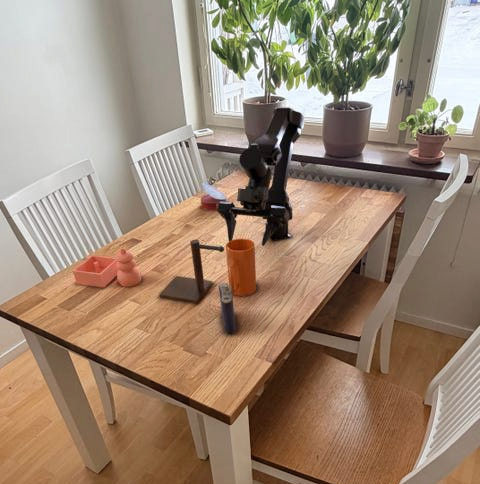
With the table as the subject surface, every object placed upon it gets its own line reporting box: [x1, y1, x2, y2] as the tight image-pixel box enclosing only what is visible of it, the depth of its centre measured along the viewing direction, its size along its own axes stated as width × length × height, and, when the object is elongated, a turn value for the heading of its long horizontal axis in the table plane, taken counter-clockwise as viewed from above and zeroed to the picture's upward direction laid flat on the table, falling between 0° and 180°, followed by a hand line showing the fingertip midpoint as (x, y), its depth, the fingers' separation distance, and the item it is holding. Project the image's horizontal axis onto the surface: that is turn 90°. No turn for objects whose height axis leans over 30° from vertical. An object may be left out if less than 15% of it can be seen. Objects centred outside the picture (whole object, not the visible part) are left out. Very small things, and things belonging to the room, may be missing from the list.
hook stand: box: [158, 239, 225, 304], centre depth 112 cm, size 10×18×15 cm, turn 70°
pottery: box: [72, 248, 142, 288], centre depth 122 cm, size 18×10×10 cm, turn 72°
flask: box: [218, 282, 237, 336], centre depth 101 cm, size 9×3×11 cm, turn 8°
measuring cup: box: [225, 238, 257, 297], centre depth 111 cm, size 11×7×13 cm, turn 160°
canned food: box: [200, 181, 228, 212], centre depth 164 cm, size 11×10×10 cm
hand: (246, 243), depth 113 cm, fingers open, 9 cm apart
